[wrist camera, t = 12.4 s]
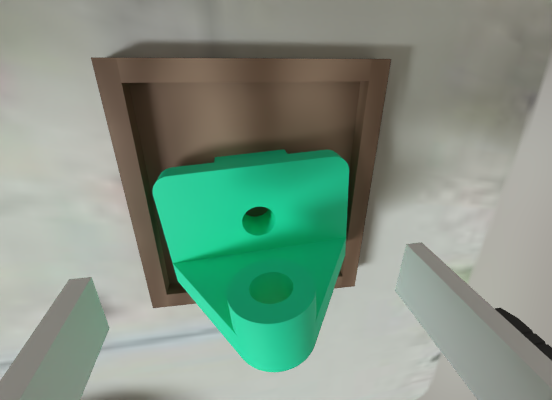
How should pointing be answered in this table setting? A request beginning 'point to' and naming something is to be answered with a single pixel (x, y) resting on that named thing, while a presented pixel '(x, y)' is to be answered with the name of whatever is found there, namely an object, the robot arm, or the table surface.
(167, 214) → the camera mount
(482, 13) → the table surface
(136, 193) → the tray
